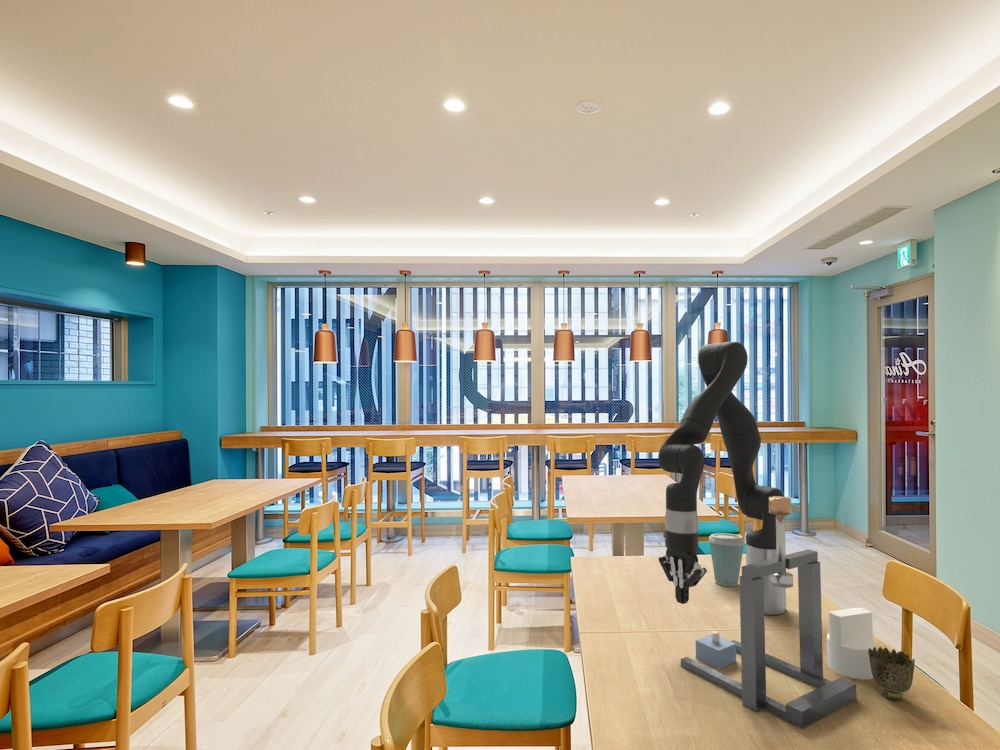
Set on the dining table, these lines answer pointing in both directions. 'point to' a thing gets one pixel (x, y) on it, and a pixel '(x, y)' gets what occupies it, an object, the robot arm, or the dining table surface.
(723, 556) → the disposable coffee cup
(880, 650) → the cup
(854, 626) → the base with upright slab
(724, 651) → the housing block
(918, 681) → the dining table surface
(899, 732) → the dining table surface
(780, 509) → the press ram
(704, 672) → the press frame
